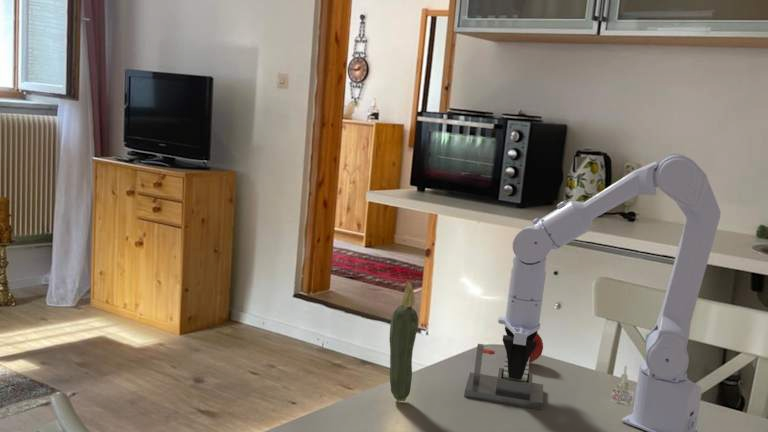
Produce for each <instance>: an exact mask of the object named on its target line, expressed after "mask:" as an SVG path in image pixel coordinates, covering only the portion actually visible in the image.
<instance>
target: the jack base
mask: <svg viewBox="0 0 768 432" xmlns="http://www.w3.org/2000/svg"><path fill="white" fill-rule="evenodd" d="M484 346H485V345H484V344H483V343H477V347H476V353H475V354H476V355H475V363H474V371H473V372H469V375H468V378H467V380H466V381H467V382H466V386H465V389H464V394H463V397H466V398H471V399H476V400H482V401H488V402H495V403H498V404H506V405H510V406H517V407H522V408H529V409H535V410H539V411H542V410H543V404H544V384H543V383H536V382H533V372H529V371H528V377H527V382H521V381H515V380H509V379H503V373H504V367H499V369H498V373H497V376H494V375H488V374H483V373H482V374H481V369H482V361H483V354H485V355H486V354H488V355H495V352H496V351H495V350H493V349H488V348H484Z"/></svg>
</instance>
